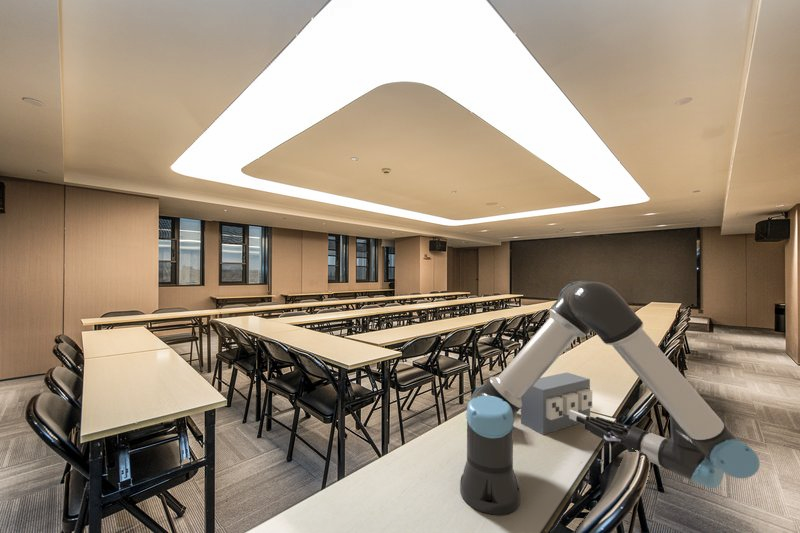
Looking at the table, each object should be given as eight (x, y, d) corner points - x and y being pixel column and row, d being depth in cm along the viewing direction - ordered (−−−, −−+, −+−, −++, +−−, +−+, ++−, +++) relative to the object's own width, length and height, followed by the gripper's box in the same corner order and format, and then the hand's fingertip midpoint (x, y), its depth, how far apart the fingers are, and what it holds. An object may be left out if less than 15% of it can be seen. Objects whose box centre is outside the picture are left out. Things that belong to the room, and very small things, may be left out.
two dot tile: (582, 411, 124) (582, 393, 124) (574, 407, 127) (574, 390, 127) (593, 407, 127) (593, 390, 127) (585, 404, 130) (584, 388, 130)
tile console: (543, 434, 117) (543, 390, 117) (520, 423, 125) (520, 381, 126) (590, 419, 130) (589, 379, 130) (567, 410, 139) (566, 372, 139)
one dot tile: (567, 415, 120) (567, 397, 120) (559, 412, 123) (559, 394, 123) (578, 412, 123) (578, 394, 123) (570, 408, 126) (570, 391, 126)
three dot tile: (551, 420, 115) (551, 401, 116) (543, 416, 118) (543, 398, 119) (563, 416, 119) (563, 398, 119) (555, 413, 121) (555, 395, 122)
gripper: (634, 465, 89) (558, 428, 110) (658, 453, 95) (581, 421, 116) (634, 437, 90) (557, 406, 110) (658, 427, 96) (581, 400, 117)
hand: (570, 414), depth 113 cm, fingers closed
